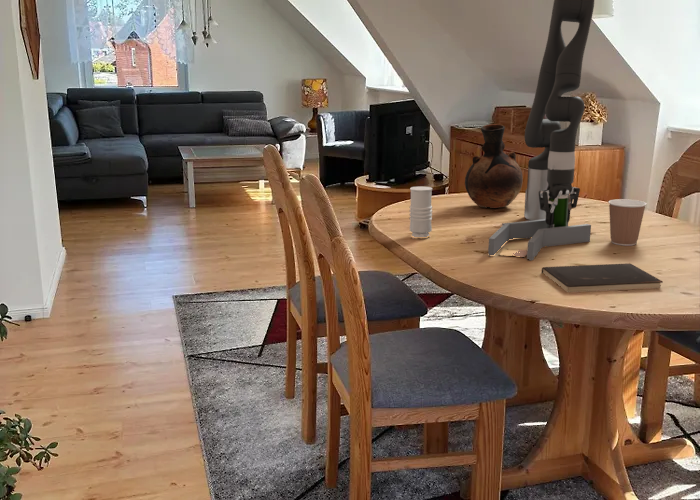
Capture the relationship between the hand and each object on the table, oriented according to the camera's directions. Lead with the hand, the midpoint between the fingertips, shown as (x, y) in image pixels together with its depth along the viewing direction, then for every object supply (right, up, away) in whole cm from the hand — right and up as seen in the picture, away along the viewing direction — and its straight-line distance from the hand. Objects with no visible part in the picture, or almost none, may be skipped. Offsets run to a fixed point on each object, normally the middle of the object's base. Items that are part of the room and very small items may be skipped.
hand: (557, 223), depth 210 cm
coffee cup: (+18, -6, -3) cm, 20 cm away
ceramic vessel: (-9, +7, +49) cm, 50 cm away
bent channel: (-8, -7, -7) cm, 13 cm away
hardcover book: (-1, -16, -38) cm, 41 cm away
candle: (-40, -4, +7) cm, 41 cm away
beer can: (0, -3, +1) cm, 3 cm away
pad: (-16, -9, -14) cm, 23 cm away
